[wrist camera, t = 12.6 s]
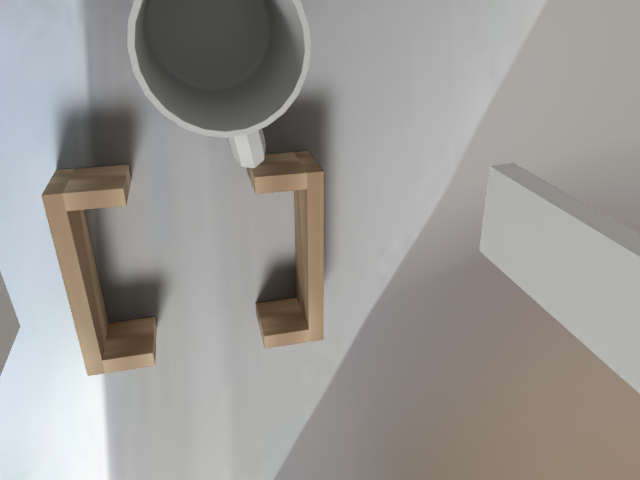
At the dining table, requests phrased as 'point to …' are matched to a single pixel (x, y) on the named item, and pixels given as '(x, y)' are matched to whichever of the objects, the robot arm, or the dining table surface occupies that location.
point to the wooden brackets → (140, 334)
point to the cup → (221, 65)
